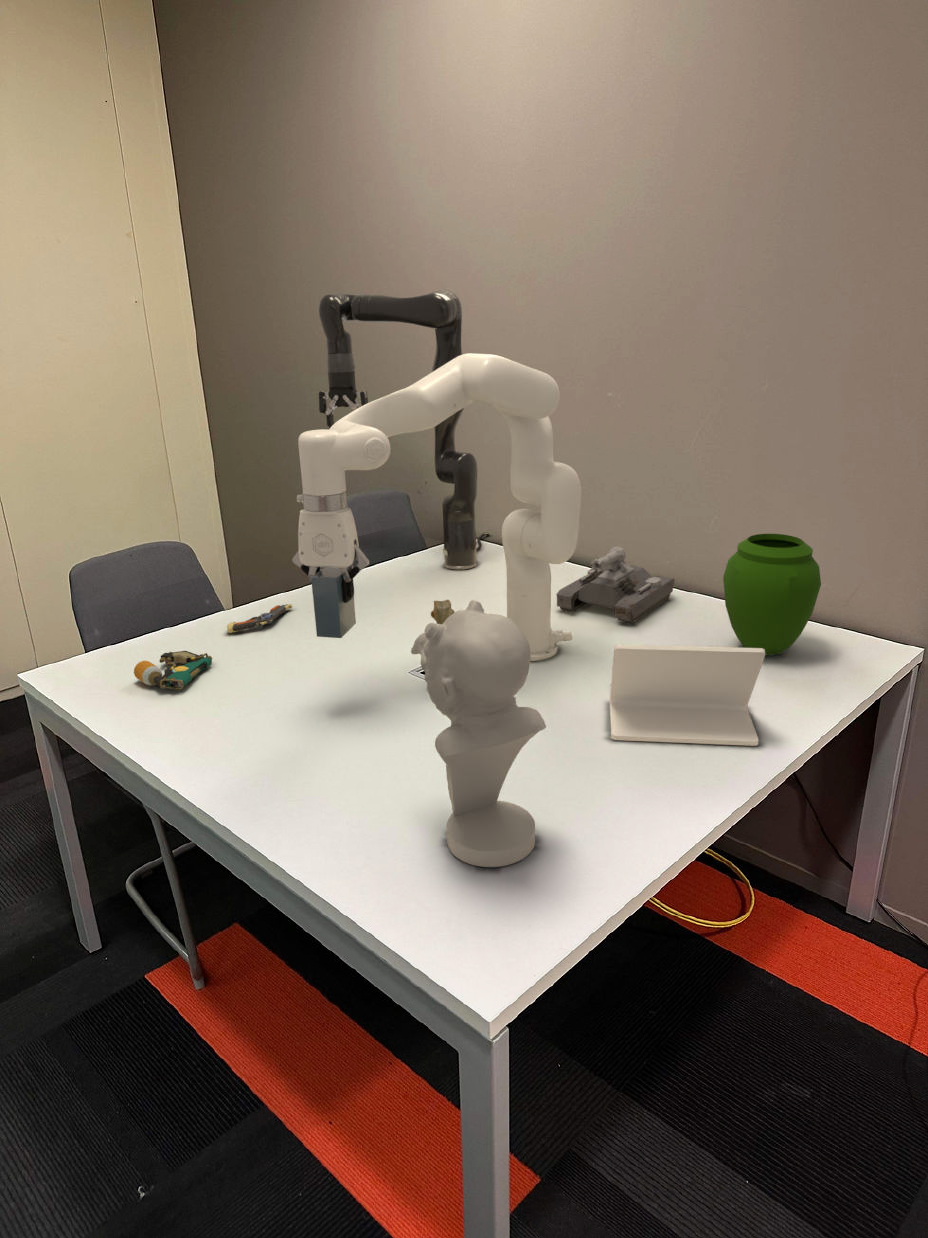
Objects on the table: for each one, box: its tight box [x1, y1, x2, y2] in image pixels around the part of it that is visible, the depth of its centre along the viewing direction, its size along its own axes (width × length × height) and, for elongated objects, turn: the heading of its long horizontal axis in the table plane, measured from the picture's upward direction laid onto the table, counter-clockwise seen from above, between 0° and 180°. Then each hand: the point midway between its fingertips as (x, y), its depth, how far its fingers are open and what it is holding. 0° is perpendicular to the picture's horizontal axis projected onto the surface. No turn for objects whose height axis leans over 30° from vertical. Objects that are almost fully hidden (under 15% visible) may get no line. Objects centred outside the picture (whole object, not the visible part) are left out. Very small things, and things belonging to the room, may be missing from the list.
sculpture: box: [430, 599, 456, 624], centre depth 177 cm, size 6×7×15 cm
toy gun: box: [226, 603, 293, 634], centre depth 210 cm, size 3×19×10 cm
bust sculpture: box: [410, 599, 547, 868], centre depth 121 cm, size 16×24×35 cm
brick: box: [310, 567, 357, 639], centre depth 157 cm, size 5×8×11 cm, turn 166°
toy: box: [556, 546, 676, 624], centre depth 212 cm, size 25×20×15 cm
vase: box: [722, 533, 822, 656], centre depth 181 cm, size 20×20×24 cm
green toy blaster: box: [133, 650, 213, 690], centre depth 180 cm, size 4×17×15 cm
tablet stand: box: [609, 643, 766, 747], centre depth 153 cm, size 18×25×17 cm
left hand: (345, 428), depth 246 cm, fingers open, 8 cm apart
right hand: (333, 598), depth 156 cm, fingers closed on brick, 4 cm apart
